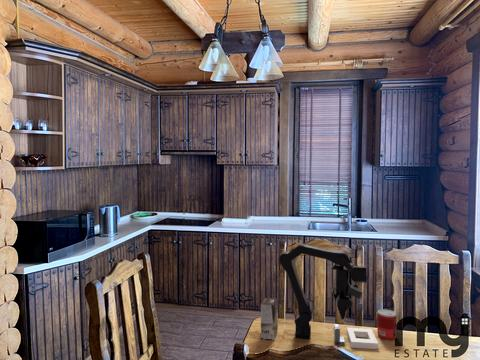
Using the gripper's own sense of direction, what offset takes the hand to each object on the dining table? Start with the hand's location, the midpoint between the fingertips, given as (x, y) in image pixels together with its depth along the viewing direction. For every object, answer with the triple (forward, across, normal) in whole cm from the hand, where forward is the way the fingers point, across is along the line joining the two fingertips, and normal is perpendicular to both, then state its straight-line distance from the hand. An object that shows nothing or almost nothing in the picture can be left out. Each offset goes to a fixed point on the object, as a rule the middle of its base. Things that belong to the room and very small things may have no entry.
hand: (341, 314), depth 155 cm
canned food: (+12, +8, -22) cm, 26 cm away
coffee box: (+13, +2, +32) cm, 34 cm away
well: (+12, +2, -9) cm, 15 cm away
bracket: (+12, -1, +1) cm, 12 cm away
